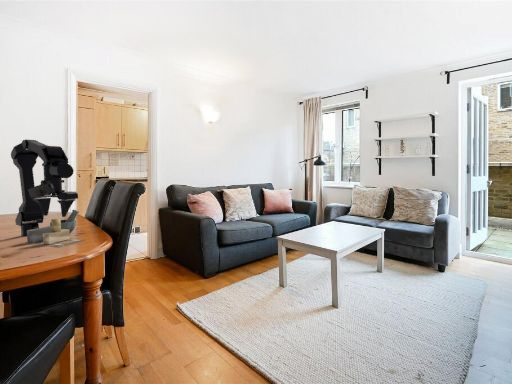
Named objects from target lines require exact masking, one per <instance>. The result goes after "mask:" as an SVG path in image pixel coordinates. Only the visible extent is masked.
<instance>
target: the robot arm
mask: <svg viewBox="0 0 512 384" xmlns="http://www.w3.org/2000/svg"><path fill="white" fill-rule="evenodd" d="M38 157H39V158H40V159H41V160H42V162H43V163H41V166H42V167H43V180H41V181H40V184H39V185H35V179H34V169H33V168H34V167H35V165H36V164H37V159H38ZM10 158H11V159H12V163H13V165H14V166H15V167H16V168H17V170H18V173H19V181H20V189H21V198H22V203H21V204H20V206H19V207H18V213H17V215H16V217H15V226H16V225H17V226H18V227H20V231H21V232H20V234H21V236H23V237H27V230H32V229H37V228H40V227H39V226H40V225H39V224H44V217H47V216H48V215H49V211H50V205H51V201H52V198H57V199H58V200H56V201H57V203H59V205H60V211H61V212H60V213H61V216H62V218H65V217H66V216H67V214H68V212H69V210H70V208H71V206H72V205H73V203H74V202H76V200H77V199H79V193H78V192H77V191H66V190H65V189H63V183H65V179H69V178H71V177H73V174H74V168H73V167H72V165H71V164H69V158H68V157H67V155H66V152H65V150H64V149H63V148H62V147H61V146H57V145H48V144H45V143H42V142H41V141H40V142H39V141H38V140H36V139H27V138H26V139H23V140H22V141H21V142H20V143H19V144H17V145H15V146H13V148H12V150H11V152H10Z"/></svg>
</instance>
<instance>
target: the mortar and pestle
mask: <svg viewBox="0 0 512 384" xmlns="http://www.w3.org/2000/svg"><path fill="white" fill-rule="evenodd" d="M79 213H80V212H79V211H78V210H77V209H72V211H71V213H70V215H69V216H68V217H67V219H60V220H61V229H69V231H70V234H71V233H72V232H73V231H74V230H75V228H76V226H77V220H76V218H77V215H78V214H79ZM49 226H52V223H51V222H49Z"/></svg>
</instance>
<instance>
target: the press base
mask: <svg viewBox="0 0 512 384" xmlns="http://www.w3.org/2000/svg"><path fill="white" fill-rule="evenodd" d="M48 232H52V226H50V225H48V226H43V227H39V228H37V229H32V230H27V236H26V239H27V242H25V243H23V245H28V246H29V245H30V246H39V247H48V248H58V249H59V248H60V249H61V248H65V247H68V246H72V245H75V244H79V243H82V242H85V241H87V239H80V238H71V237H70V239H67V240H64V241H60V242H56V243H52V244H43V234H44V233H48Z"/></svg>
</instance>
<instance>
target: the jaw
mask: <svg viewBox="0 0 512 384" xmlns="http://www.w3.org/2000/svg"><path fill="white" fill-rule="evenodd" d="M50 219H51V218H50ZM61 220H62V219H61V218H52V219H51V220H50V221H51V223H52V232H48V233H44V234H43V244H52V243H56V242H60V241H64V240H67V239H70V238H71V236H70V235H71V233H70V231H69V229H61Z"/></svg>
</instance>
